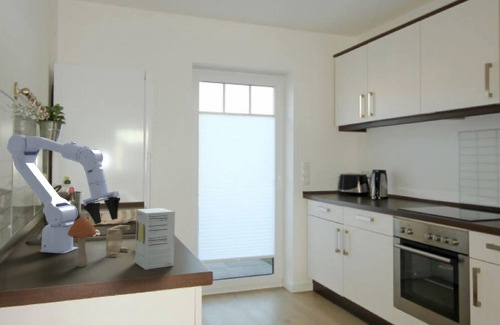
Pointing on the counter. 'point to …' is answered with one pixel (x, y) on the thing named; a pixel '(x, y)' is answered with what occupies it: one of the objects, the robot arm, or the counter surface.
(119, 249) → the footstool
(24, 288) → the counter surface
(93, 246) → the counter surface
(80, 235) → the mushroom
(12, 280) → the counter surface
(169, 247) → the supplement box
